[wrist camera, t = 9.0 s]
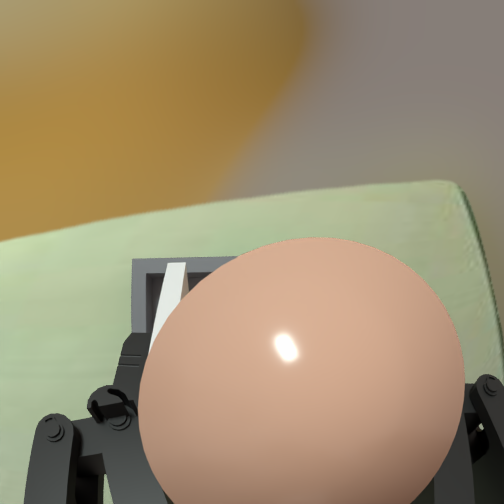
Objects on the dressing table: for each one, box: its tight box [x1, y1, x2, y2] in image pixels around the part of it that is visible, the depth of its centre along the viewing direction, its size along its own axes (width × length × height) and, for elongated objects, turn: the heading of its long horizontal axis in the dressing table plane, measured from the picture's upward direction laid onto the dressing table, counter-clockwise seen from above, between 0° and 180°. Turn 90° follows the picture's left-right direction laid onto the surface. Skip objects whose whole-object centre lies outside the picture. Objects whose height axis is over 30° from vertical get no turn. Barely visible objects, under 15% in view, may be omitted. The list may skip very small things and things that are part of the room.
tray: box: [131, 256, 238, 333], centre depth 21 cm, size 15×13×2 cm
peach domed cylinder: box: [138, 237, 465, 504], centre depth 11 cm, size 6×6×12 cm
